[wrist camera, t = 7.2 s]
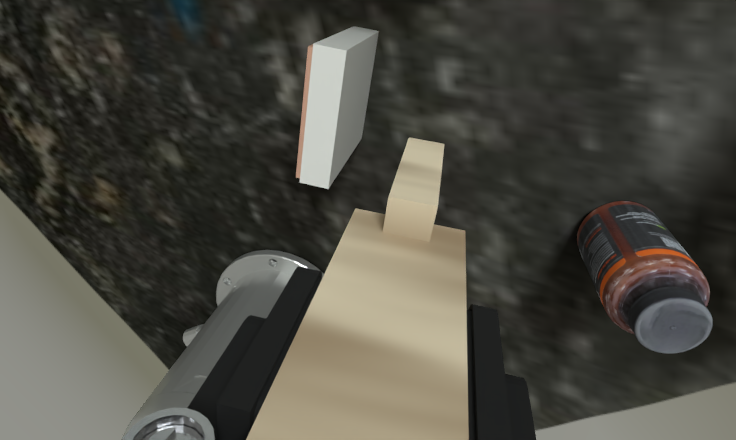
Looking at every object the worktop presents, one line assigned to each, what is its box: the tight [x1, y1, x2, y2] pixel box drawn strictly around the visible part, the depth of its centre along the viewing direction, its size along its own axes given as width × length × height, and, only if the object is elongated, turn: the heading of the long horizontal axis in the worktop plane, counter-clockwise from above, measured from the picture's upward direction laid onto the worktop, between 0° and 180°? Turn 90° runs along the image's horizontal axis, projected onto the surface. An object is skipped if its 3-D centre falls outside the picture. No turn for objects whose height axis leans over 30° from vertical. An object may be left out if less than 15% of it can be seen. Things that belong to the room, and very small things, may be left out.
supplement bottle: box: [577, 201, 713, 354], centre depth 31 cm, size 6×6×11 cm
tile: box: [296, 26, 379, 189], centre depth 31 cm, size 8×2×10 cm, turn 171°
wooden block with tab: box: [246, 138, 469, 440], centre depth 11 cm, size 5×3×14 cm, turn 172°
